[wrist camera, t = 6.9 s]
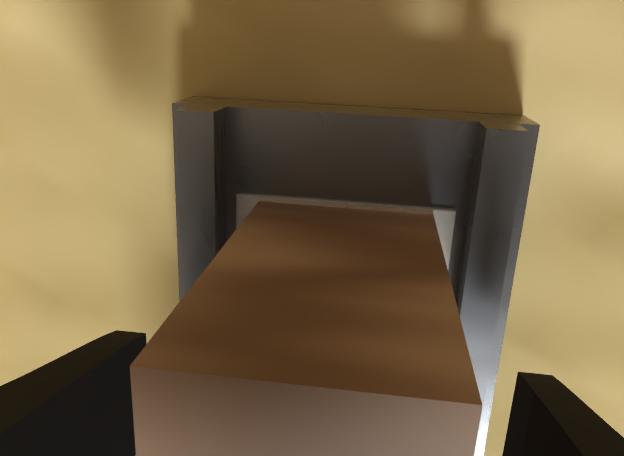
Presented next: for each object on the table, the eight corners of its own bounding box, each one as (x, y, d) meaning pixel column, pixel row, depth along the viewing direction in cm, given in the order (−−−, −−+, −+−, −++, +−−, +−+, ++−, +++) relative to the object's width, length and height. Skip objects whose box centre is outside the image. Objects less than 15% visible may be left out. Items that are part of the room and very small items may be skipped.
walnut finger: (433, 214, 13) (482, 405, 6) (408, 422, 15) (426, 741, 8) (258, 201, 13) (130, 365, 7) (255, 404, 15) (153, 693, 8)
